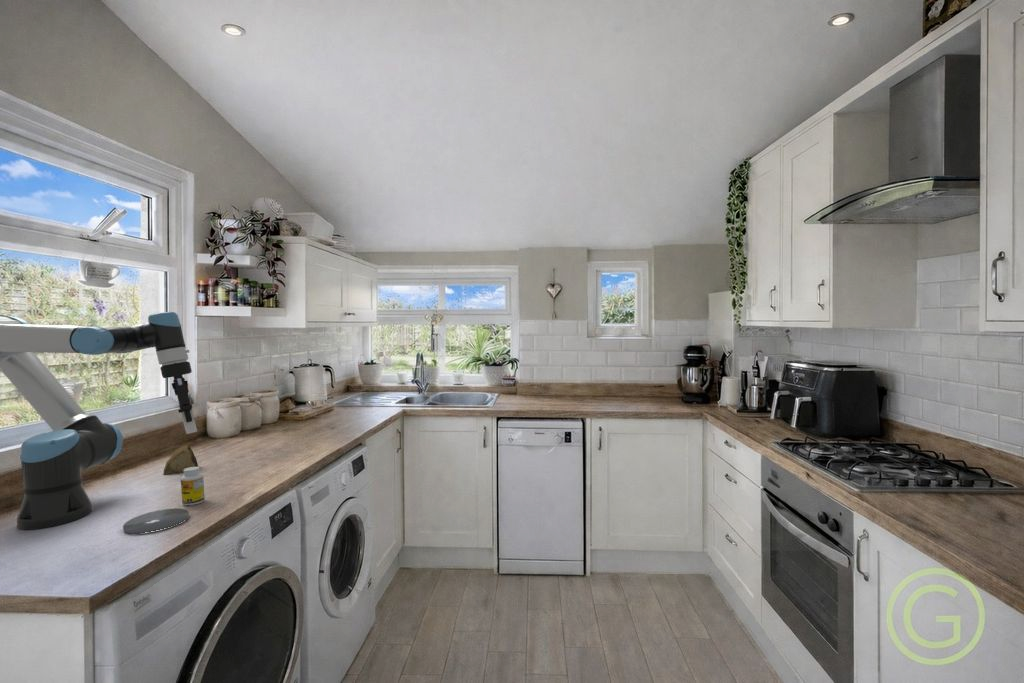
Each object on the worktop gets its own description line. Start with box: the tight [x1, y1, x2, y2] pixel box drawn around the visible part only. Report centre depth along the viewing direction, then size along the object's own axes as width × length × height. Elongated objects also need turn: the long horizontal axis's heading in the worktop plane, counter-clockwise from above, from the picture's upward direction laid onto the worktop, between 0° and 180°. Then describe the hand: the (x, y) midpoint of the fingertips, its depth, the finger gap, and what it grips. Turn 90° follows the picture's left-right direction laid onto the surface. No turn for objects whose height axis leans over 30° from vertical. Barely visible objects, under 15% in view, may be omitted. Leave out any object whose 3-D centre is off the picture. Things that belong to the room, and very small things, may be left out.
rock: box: [162, 444, 199, 475], centre depth 178 cm, size 10×8×10 cm
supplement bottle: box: [180, 466, 205, 507], centre depth 144 cm, size 6×6×10 cm
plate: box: [122, 507, 190, 535], centre depth 130 cm, size 14×14×1 cm
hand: (191, 431), depth 150 cm, fingers open, 13 cm apart
